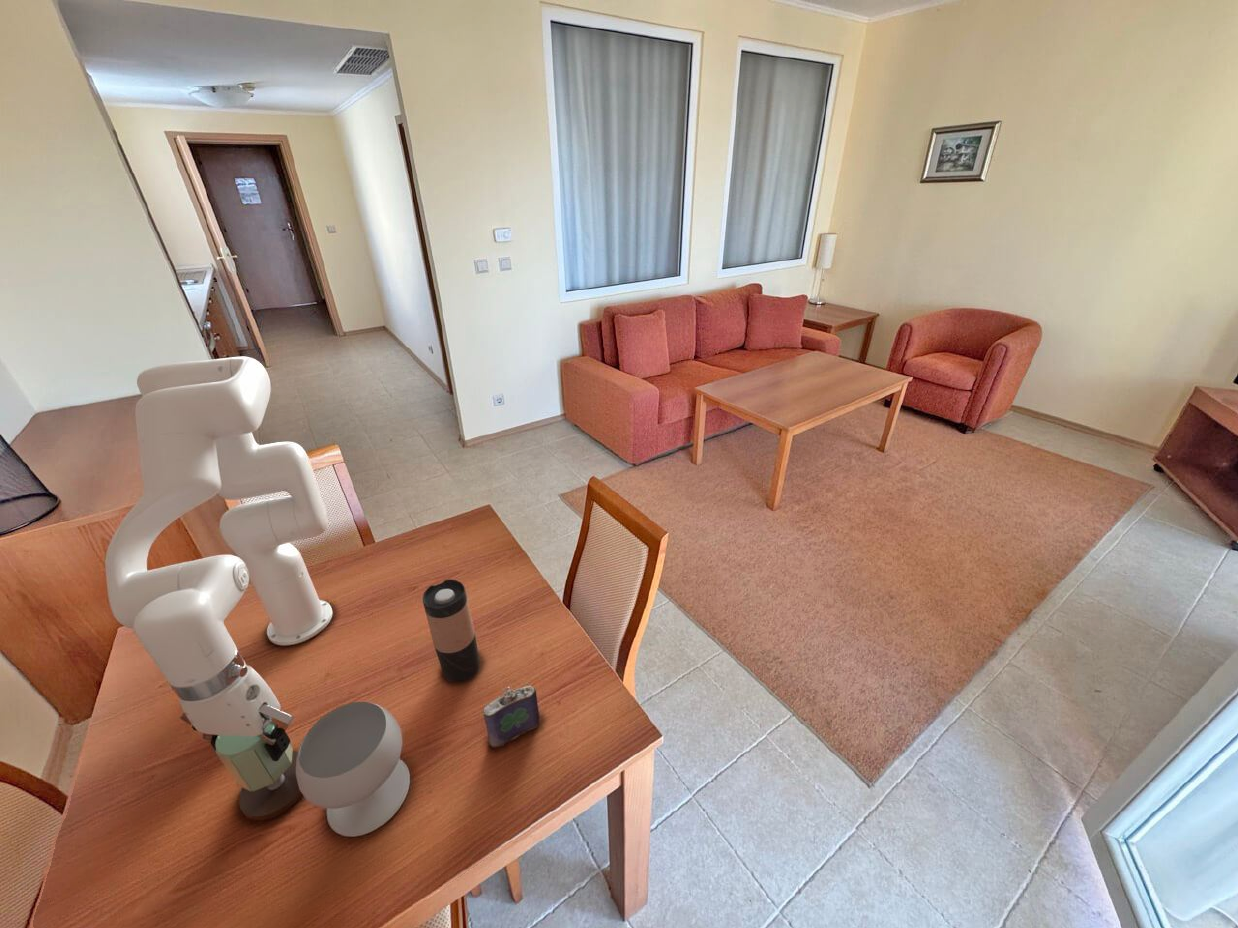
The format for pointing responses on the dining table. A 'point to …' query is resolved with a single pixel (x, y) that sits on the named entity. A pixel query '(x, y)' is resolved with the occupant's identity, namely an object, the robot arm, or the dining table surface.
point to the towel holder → (272, 796)
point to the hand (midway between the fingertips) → (256, 749)
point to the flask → (511, 715)
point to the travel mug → (452, 630)
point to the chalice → (354, 767)
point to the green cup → (251, 760)
